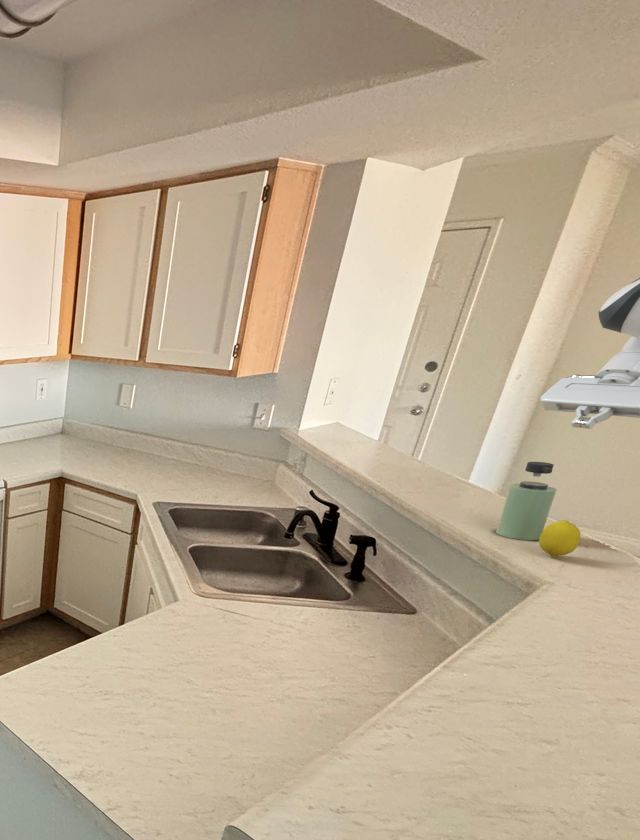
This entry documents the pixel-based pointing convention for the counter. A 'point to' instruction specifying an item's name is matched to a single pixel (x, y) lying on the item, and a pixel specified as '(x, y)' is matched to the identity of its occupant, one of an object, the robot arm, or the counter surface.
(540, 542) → the lemon
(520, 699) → the counter surface
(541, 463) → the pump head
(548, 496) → the soap bottle
